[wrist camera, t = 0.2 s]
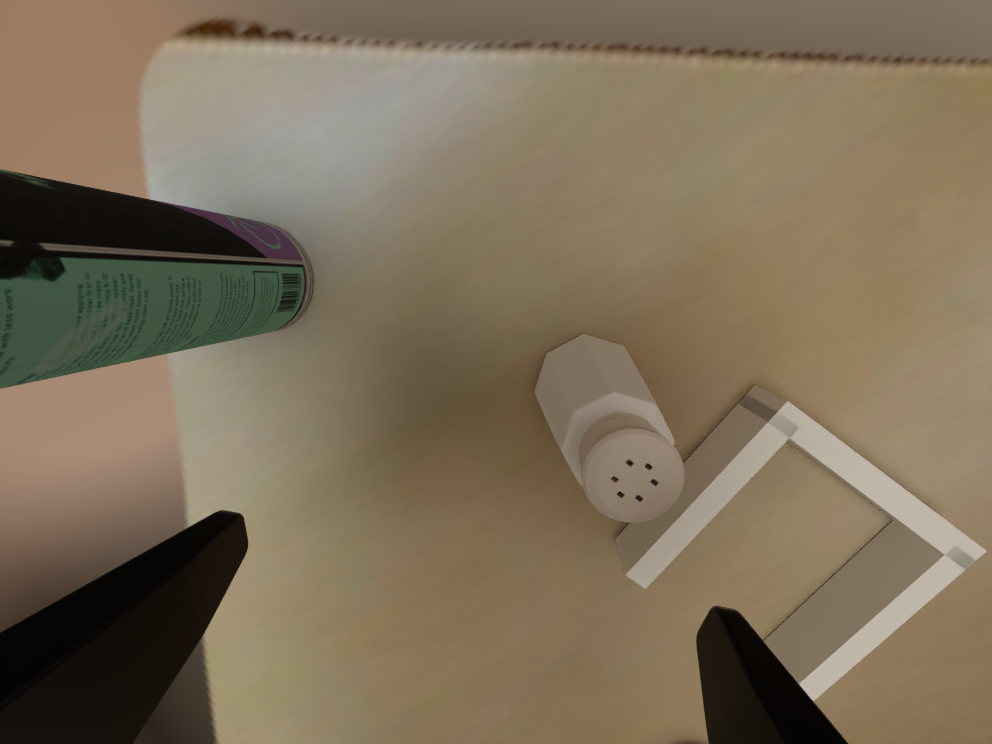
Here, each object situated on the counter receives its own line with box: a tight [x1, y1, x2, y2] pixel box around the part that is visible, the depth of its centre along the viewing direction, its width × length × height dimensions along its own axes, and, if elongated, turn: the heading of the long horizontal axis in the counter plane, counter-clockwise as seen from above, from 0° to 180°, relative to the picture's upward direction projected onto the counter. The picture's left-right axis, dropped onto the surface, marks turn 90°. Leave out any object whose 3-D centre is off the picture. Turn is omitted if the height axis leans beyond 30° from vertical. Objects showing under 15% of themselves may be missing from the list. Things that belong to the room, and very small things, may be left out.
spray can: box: [0, 169, 313, 389], centre depth 14 cm, size 6×6×20 cm
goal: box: [615, 385, 986, 701], centre depth 22 cm, size 11×11×3 cm
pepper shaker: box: [534, 334, 685, 523], centre depth 18 cm, size 5×5×11 cm
